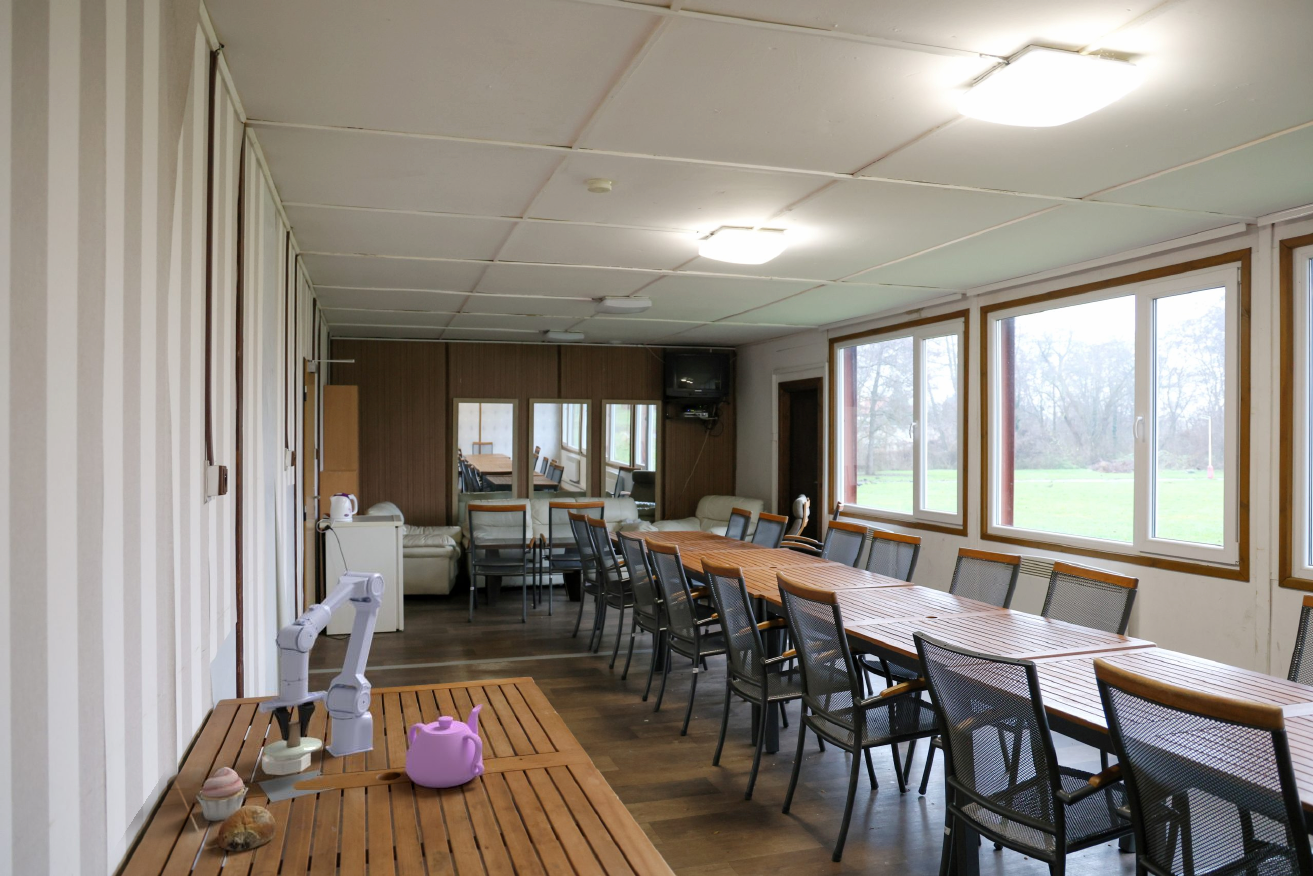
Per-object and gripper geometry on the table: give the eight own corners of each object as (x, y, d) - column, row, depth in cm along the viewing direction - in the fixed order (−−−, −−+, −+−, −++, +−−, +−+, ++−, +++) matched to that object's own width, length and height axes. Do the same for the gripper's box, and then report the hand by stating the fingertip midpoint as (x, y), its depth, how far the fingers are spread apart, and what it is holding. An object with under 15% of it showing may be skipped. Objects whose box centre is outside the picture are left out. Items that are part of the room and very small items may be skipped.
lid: (319, 737, 200) (319, 713, 201) (324, 751, 190) (324, 726, 190) (263, 744, 195) (264, 720, 195) (265, 760, 184) (265, 734, 185)
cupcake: (213, 830, 166) (214, 779, 166) (186, 818, 171) (188, 768, 171) (257, 813, 174) (258, 764, 174) (230, 802, 179) (232, 755, 179)
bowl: (302, 757, 205) (303, 745, 205) (313, 770, 197) (314, 757, 198) (259, 766, 199) (259, 753, 200) (268, 779, 192) (269, 766, 192)
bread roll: (279, 856, 163) (293, 811, 167) (242, 854, 155) (258, 807, 158) (239, 847, 167) (254, 804, 170) (200, 845, 158) (217, 799, 161)
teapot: (516, 767, 202) (517, 709, 202) (459, 801, 182) (460, 736, 182) (442, 752, 211) (444, 696, 211) (380, 782, 191) (382, 721, 191)
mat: (318, 771, 197) (318, 770, 197) (335, 790, 186) (335, 788, 186) (258, 784, 189) (258, 782, 189) (271, 804, 178) (271, 802, 178)
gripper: (319, 669, 201) (318, 726, 201) (255, 679, 191) (253, 740, 191) (331, 675, 196) (330, 734, 195) (265, 686, 186) (264, 748, 186)
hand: (293, 738), depth 193 cm, fingers closed on lid, 3 cm apart
